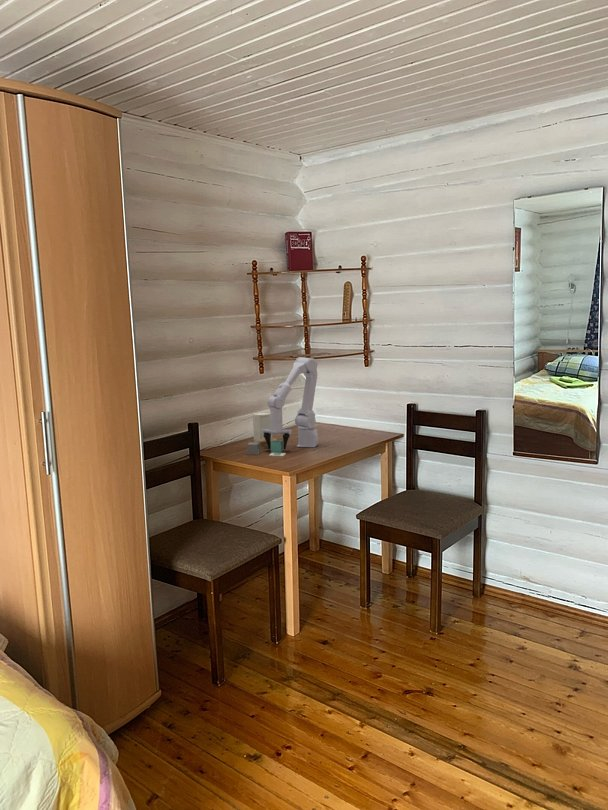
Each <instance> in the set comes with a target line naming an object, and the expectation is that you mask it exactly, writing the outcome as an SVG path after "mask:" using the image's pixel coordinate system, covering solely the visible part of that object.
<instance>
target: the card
mask: <svg viewBox="0 0 608 810" xmlns="http://www.w3.org/2000/svg"><path fill="white" fill-rule="evenodd" d="M286 454H287V453H286V452H281V453H275V452H270V454H269V455H268V456H269V457H270V456H271V457H272V456H273V457H284V456H286Z"/></svg>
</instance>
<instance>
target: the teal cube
mask: <svg viewBox="0 0 608 810" xmlns="http://www.w3.org/2000/svg"><path fill="white" fill-rule="evenodd" d="M283 445H284V442H283V439H281V440H279V439H278V440H273V441H272V442H271V449H270V453H283V452H284V450H285V449H284V448H283Z"/></svg>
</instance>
